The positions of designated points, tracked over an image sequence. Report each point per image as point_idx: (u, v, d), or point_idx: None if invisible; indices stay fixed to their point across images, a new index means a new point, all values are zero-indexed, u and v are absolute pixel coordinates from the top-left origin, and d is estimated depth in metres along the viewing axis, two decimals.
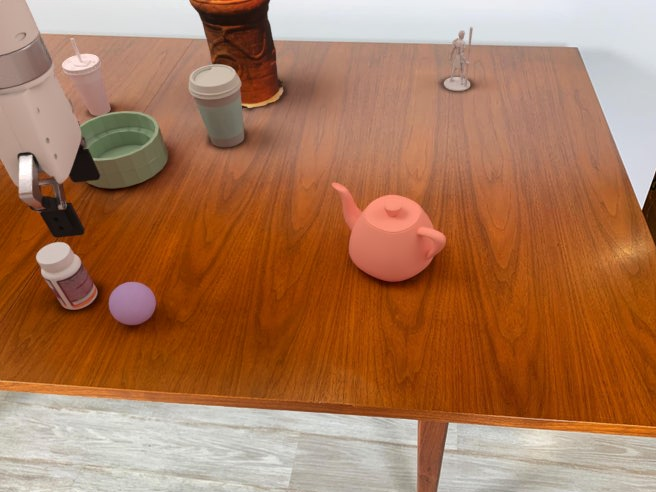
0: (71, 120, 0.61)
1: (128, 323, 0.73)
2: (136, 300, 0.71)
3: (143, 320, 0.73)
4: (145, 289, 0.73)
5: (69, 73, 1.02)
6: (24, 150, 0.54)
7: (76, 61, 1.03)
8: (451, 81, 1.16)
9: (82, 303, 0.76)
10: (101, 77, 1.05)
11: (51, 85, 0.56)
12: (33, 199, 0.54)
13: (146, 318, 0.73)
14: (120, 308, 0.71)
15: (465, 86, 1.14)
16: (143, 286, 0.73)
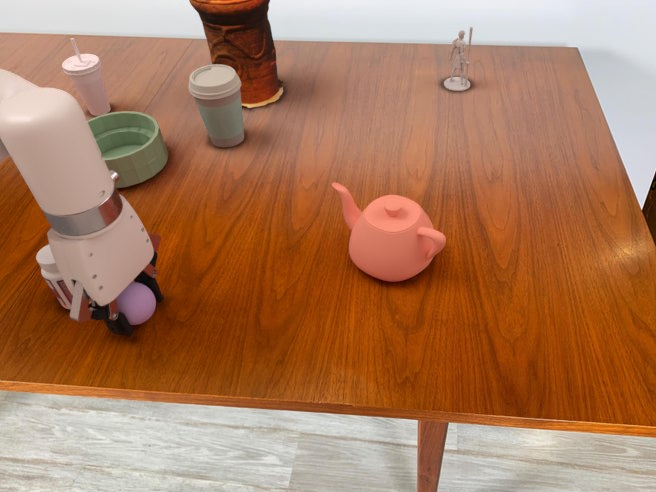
0: (139, 250, 0.69)
1: None
2: (136, 300, 0.71)
3: (143, 320, 0.73)
4: (145, 289, 0.73)
5: (69, 73, 1.02)
6: (75, 279, 0.64)
7: (76, 61, 1.03)
8: (451, 81, 1.16)
9: None
10: (101, 77, 1.05)
11: (120, 228, 0.65)
12: (80, 321, 0.66)
13: (146, 318, 0.73)
14: (121, 309, 0.71)
15: (465, 86, 1.14)
16: (143, 286, 0.73)
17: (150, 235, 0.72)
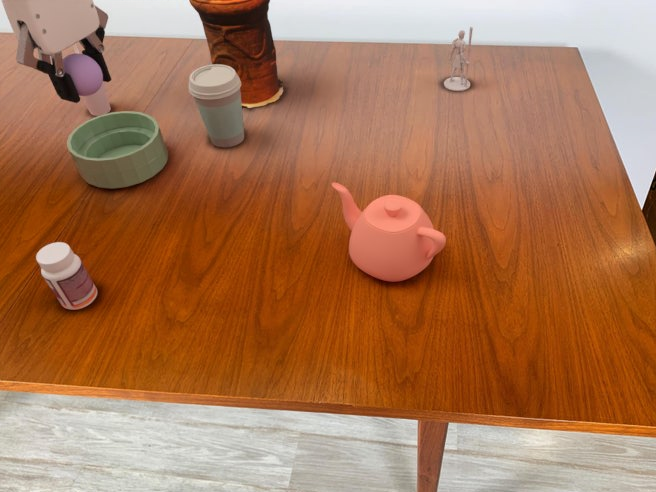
0: (83, 11, 0.75)
1: None
2: (82, 65, 0.78)
3: (90, 89, 0.79)
4: (91, 60, 0.79)
5: None
6: (20, 19, 0.70)
7: None
8: (451, 81, 1.16)
9: (82, 303, 0.76)
10: None
11: None
12: (26, 65, 0.72)
13: (93, 87, 0.79)
14: (67, 72, 0.77)
15: (465, 86, 1.14)
16: (90, 58, 0.79)
17: (97, 8, 0.79)
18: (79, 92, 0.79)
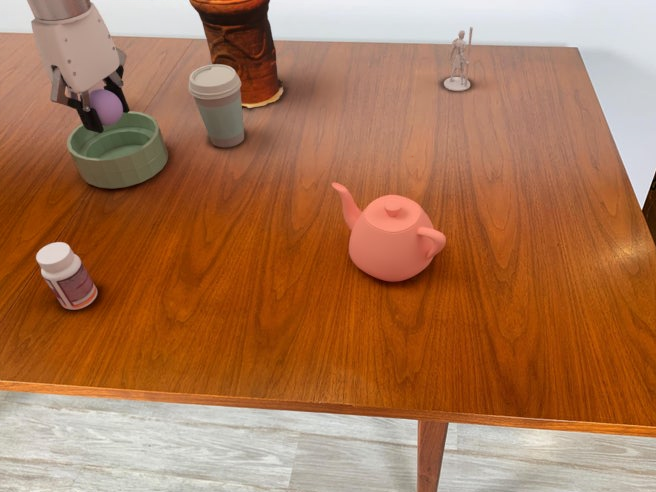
0: (106, 53, 0.86)
1: None
2: (105, 100, 0.88)
3: (112, 120, 0.90)
4: (113, 95, 0.90)
5: None
6: (54, 64, 0.80)
7: None
8: (451, 81, 1.16)
9: (82, 303, 0.76)
10: None
11: (89, 26, 0.81)
12: None
13: (114, 119, 0.90)
14: (93, 106, 0.88)
15: (465, 86, 1.14)
16: (112, 93, 0.90)
17: (117, 49, 0.89)
18: (103, 123, 0.90)
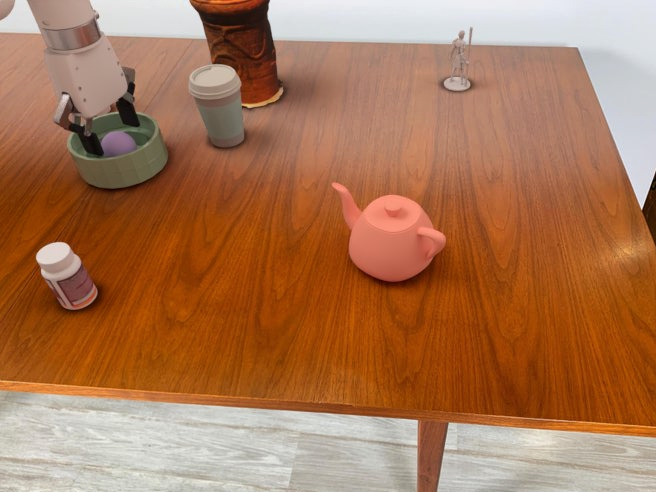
0: (115, 80, 0.88)
1: None
2: (121, 142, 0.94)
3: None
4: (128, 136, 0.95)
5: None
6: (65, 90, 0.83)
7: None
8: (451, 81, 1.16)
9: (82, 303, 0.76)
10: None
11: (99, 54, 0.84)
12: (60, 124, 0.84)
13: None
14: (109, 148, 0.93)
15: (465, 86, 1.14)
16: (127, 134, 0.95)
17: (125, 68, 0.92)
18: None
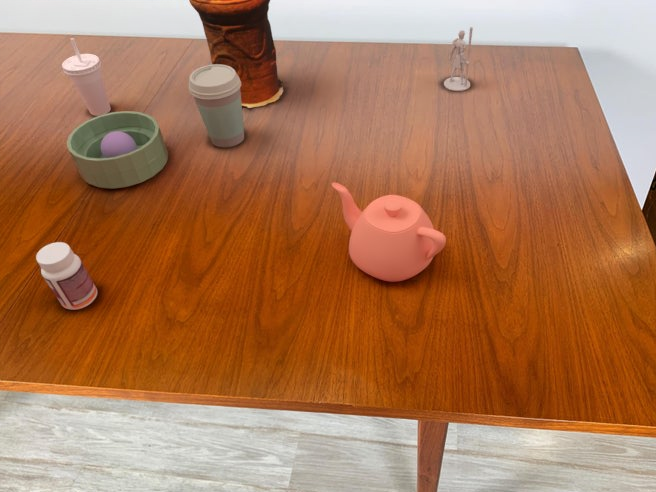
0: None
1: None
2: (121, 142, 0.94)
3: None
4: (128, 136, 0.95)
5: (69, 73, 1.02)
6: None
7: (76, 61, 1.03)
8: (451, 81, 1.16)
9: (82, 303, 0.76)
10: (101, 77, 1.05)
11: None
12: None
13: None
14: (109, 148, 0.93)
15: (465, 86, 1.14)
16: (127, 134, 0.95)
17: None
18: None
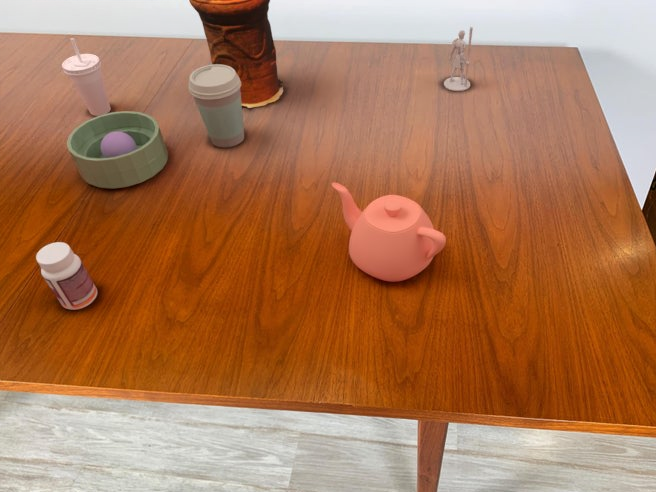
0: None
1: None
2: (121, 142, 0.94)
3: None
4: (128, 136, 0.95)
5: (69, 73, 1.02)
6: None
7: (76, 61, 1.03)
8: (451, 81, 1.16)
9: (82, 303, 0.76)
10: (101, 77, 1.05)
11: None
12: None
13: None
14: (109, 148, 0.93)
15: (465, 86, 1.14)
16: (127, 134, 0.95)
17: None
18: None
